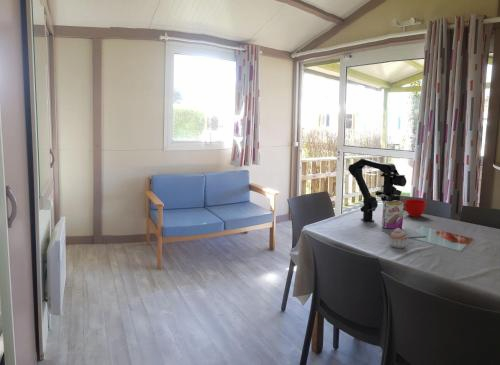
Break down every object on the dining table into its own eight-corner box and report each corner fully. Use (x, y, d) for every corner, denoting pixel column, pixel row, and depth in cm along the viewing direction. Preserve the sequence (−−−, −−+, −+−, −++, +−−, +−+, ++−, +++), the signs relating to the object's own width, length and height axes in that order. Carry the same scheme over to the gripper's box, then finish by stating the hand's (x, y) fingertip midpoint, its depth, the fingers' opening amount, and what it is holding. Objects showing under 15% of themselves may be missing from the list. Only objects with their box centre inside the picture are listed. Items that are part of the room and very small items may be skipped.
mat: (381, 230, 230) (381, 229, 230) (409, 229, 233) (409, 228, 233) (397, 238, 214) (397, 237, 214) (426, 236, 218) (426, 236, 218)
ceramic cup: (395, 213, 271) (396, 199, 269) (418, 213, 273) (419, 199, 271) (404, 218, 258) (405, 203, 257) (428, 217, 260) (429, 203, 259)
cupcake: (411, 248, 198) (412, 229, 197) (395, 250, 196) (397, 231, 194) (399, 243, 207) (400, 224, 206) (384, 244, 205) (385, 226, 203)
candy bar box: (383, 228, 234) (385, 202, 231) (381, 226, 239) (383, 200, 236) (402, 229, 233) (404, 202, 230) (400, 227, 237) (402, 200, 235)
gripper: (409, 186, 231) (407, 212, 233) (391, 181, 249) (390, 205, 251) (392, 187, 229) (390, 213, 231) (375, 182, 247) (374, 206, 249)
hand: (386, 209), depth 241 cm, fingers closed
